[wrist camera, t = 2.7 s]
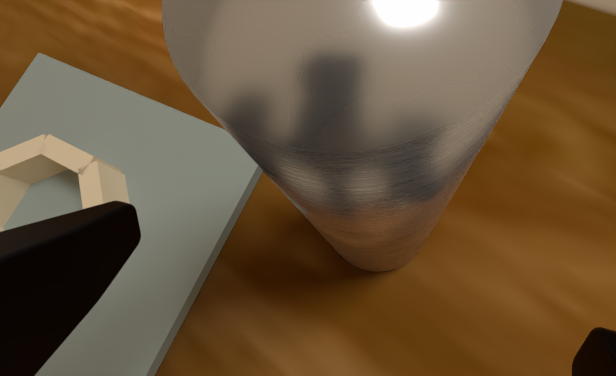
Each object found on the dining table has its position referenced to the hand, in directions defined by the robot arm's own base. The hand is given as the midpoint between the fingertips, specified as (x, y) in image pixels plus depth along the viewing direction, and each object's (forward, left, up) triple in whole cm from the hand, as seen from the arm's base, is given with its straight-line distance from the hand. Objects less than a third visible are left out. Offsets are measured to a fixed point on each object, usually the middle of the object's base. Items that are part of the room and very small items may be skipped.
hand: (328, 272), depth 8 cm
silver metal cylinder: (+3, +1, -10) cm, 10 cm away
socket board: (-4, +15, -10) cm, 18 cm away
